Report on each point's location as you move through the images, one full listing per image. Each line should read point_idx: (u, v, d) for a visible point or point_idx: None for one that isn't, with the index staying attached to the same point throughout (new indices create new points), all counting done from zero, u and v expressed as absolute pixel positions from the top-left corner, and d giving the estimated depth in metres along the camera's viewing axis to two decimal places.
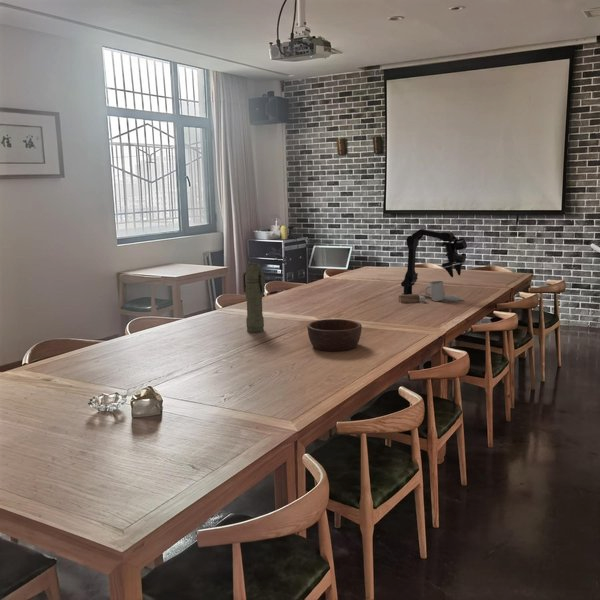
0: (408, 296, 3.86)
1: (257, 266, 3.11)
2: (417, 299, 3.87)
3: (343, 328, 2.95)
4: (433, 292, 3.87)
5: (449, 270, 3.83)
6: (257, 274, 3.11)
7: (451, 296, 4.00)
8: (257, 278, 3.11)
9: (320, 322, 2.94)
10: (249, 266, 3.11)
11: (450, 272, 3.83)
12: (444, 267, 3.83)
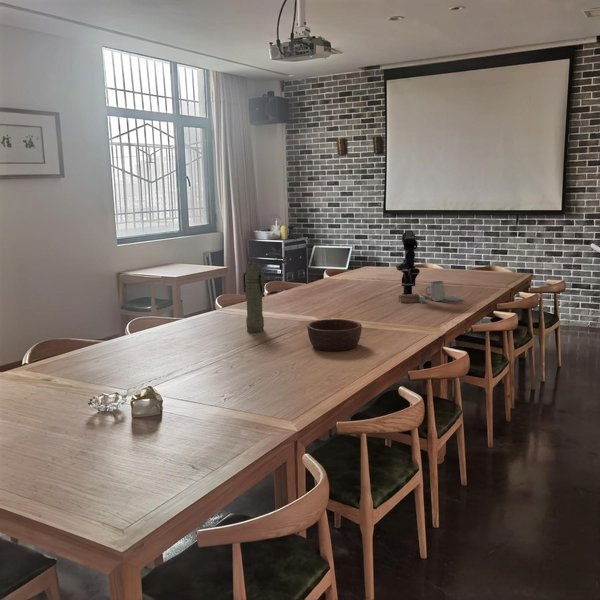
0: (408, 296, 3.86)
1: (257, 266, 3.11)
2: (417, 299, 3.87)
3: (343, 328, 2.95)
4: (433, 292, 3.87)
5: None
6: (257, 274, 3.11)
7: (451, 296, 4.00)
8: (257, 278, 3.11)
9: (320, 321, 2.94)
10: (249, 266, 3.11)
11: None
12: None
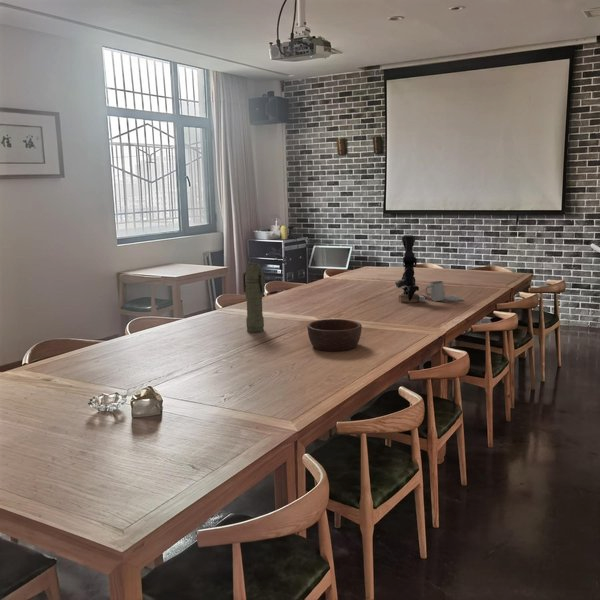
0: None
1: (257, 266, 3.11)
2: (417, 299, 3.87)
3: (343, 327, 2.95)
4: (433, 292, 3.87)
5: None
6: (257, 274, 3.11)
7: (451, 296, 4.00)
8: (257, 278, 3.11)
9: (320, 321, 2.94)
10: (249, 266, 3.11)
11: None
12: None
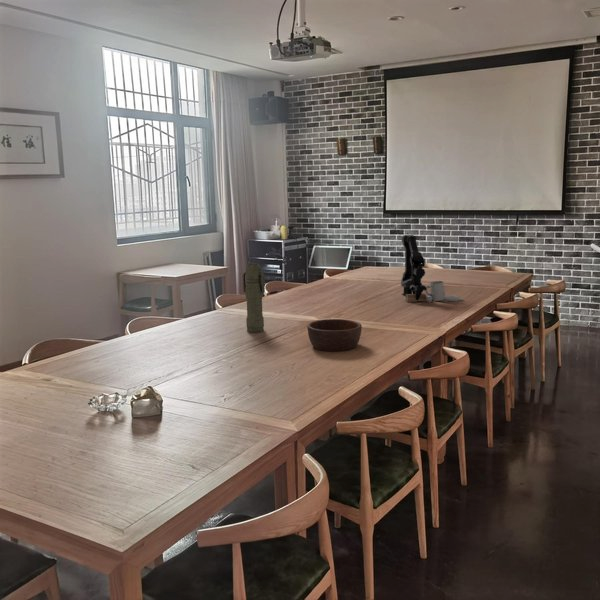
0: (415, 295, 3.87)
1: (257, 266, 3.11)
2: (424, 298, 3.88)
3: (343, 328, 2.95)
4: (433, 292, 3.87)
5: None
6: (257, 274, 3.11)
7: (451, 296, 4.00)
8: (257, 278, 3.11)
9: (320, 321, 2.94)
10: (249, 266, 3.11)
11: None
12: None
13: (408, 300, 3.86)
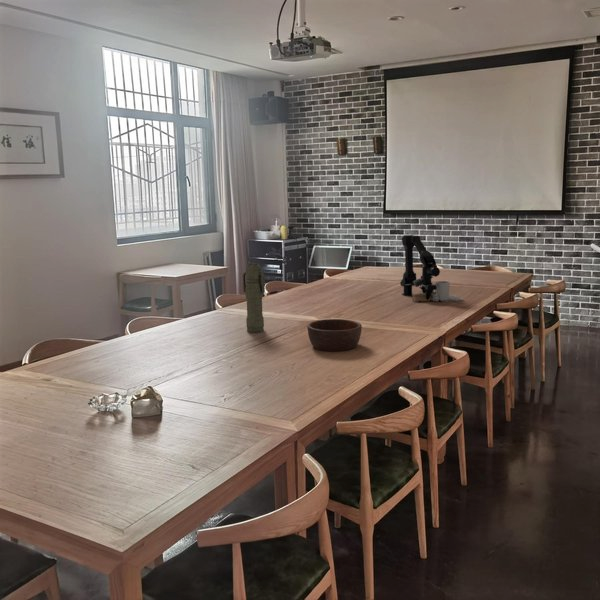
0: (422, 295, 3.87)
1: (257, 266, 3.11)
2: (430, 297, 3.89)
3: (343, 328, 2.95)
4: (437, 291, 3.88)
5: None
6: (257, 274, 3.11)
7: (451, 296, 4.00)
8: (257, 278, 3.11)
9: (320, 321, 2.94)
10: (249, 266, 3.11)
11: None
12: None
13: (415, 300, 3.87)
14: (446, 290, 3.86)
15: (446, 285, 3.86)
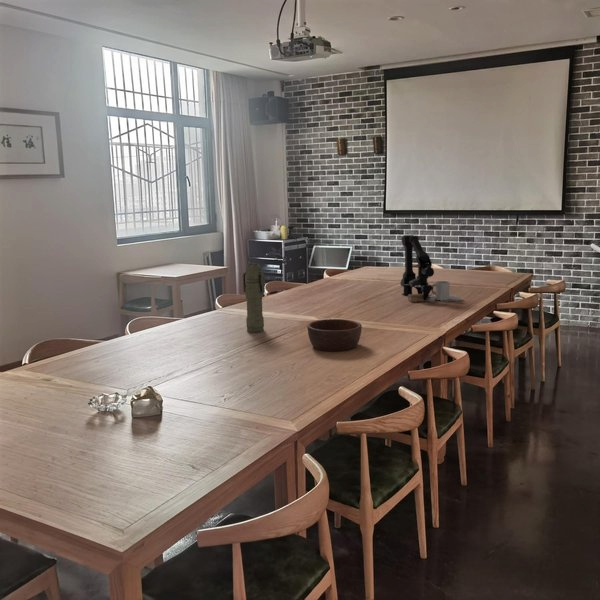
0: (418, 296, 3.87)
1: (257, 266, 3.11)
2: None
3: (343, 328, 2.95)
4: (437, 291, 3.88)
5: None
6: (257, 274, 3.11)
7: (451, 296, 4.00)
8: (257, 278, 3.11)
9: (320, 321, 2.94)
10: (249, 266, 3.11)
11: None
12: None
13: (411, 300, 3.86)
14: (446, 290, 3.86)
15: (446, 285, 3.86)
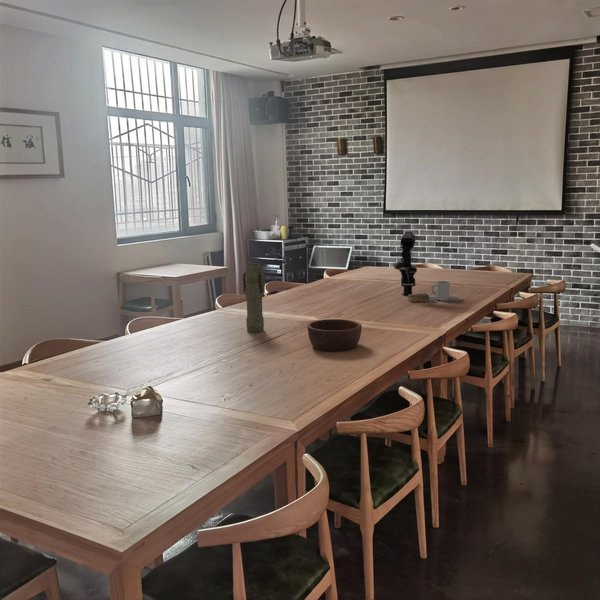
0: (418, 296, 3.87)
1: (257, 266, 3.11)
2: (426, 298, 3.89)
3: (343, 328, 2.95)
4: (437, 291, 3.88)
5: None
6: (257, 274, 3.11)
7: (451, 296, 4.00)
8: (257, 278, 3.11)
9: (320, 321, 2.94)
10: (249, 266, 3.11)
11: None
12: None
13: (411, 300, 3.86)
14: (446, 290, 3.86)
15: (446, 285, 3.86)
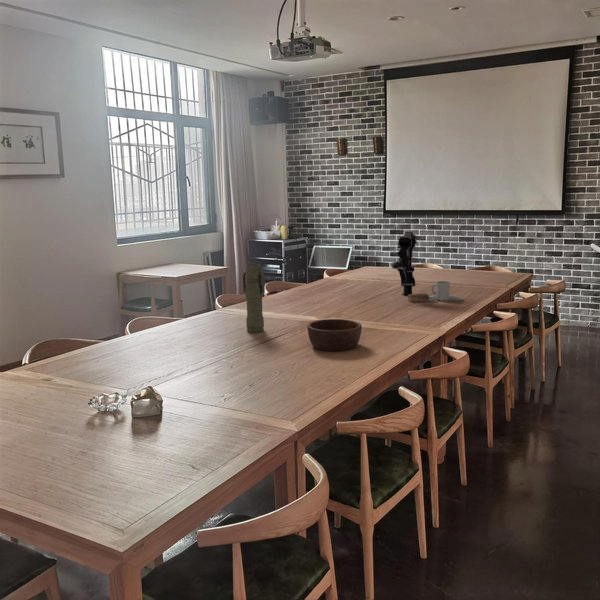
0: (418, 296, 3.87)
1: (257, 266, 3.11)
2: (426, 298, 3.89)
3: (343, 328, 2.95)
4: (437, 291, 3.88)
5: None
6: (257, 274, 3.11)
7: (451, 296, 4.00)
8: (257, 278, 3.11)
9: (320, 321, 2.94)
10: (249, 266, 3.11)
11: None
12: None
13: (411, 300, 3.86)
14: (446, 290, 3.86)
15: (446, 285, 3.86)
